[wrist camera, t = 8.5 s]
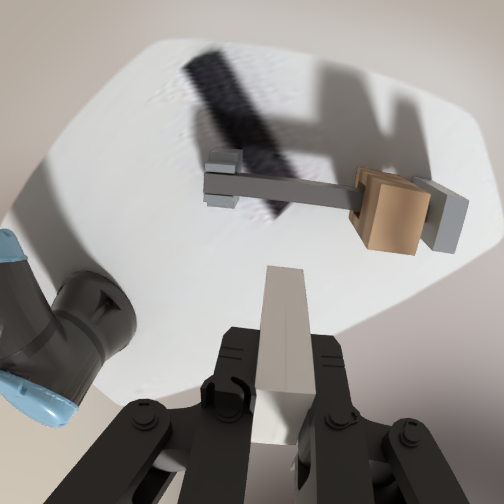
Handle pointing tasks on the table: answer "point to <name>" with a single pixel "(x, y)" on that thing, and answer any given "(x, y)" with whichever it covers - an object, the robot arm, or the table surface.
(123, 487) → the robot arm
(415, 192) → the wooden block on rod
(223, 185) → the rod rig
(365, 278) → the table surface
